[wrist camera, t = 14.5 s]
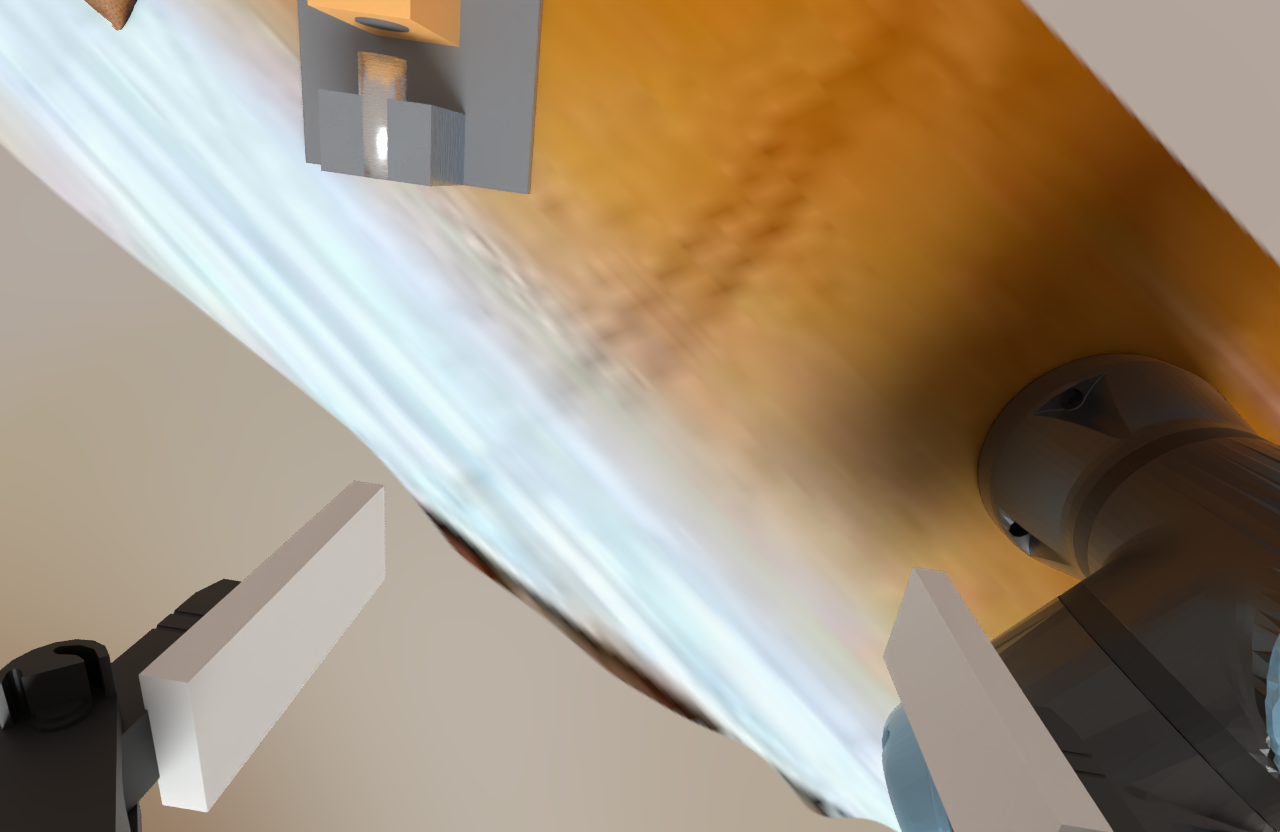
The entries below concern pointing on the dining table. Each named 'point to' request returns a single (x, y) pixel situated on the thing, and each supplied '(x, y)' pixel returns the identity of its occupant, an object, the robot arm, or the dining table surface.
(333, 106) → the shaft stands
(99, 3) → the sunglasses case
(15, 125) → the dining table surface
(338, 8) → the coupler
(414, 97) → the board
